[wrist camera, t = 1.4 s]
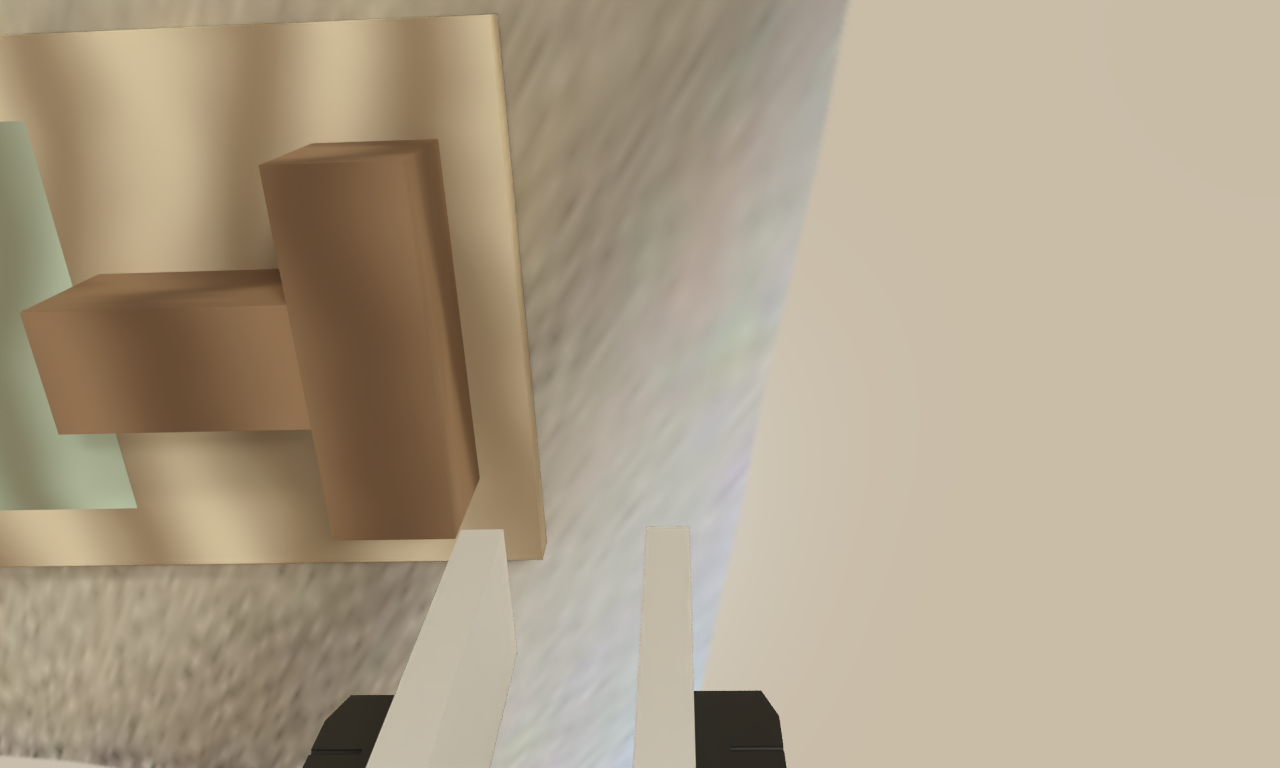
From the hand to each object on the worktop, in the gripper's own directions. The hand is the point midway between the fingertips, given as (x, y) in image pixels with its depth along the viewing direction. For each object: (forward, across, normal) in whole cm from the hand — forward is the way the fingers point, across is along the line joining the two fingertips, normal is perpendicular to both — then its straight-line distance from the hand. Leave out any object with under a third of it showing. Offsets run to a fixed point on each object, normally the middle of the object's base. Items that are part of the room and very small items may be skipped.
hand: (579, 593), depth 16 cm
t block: (+15, -12, 0) cm, 19 cm away
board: (+17, -18, 0) cm, 25 cm away
